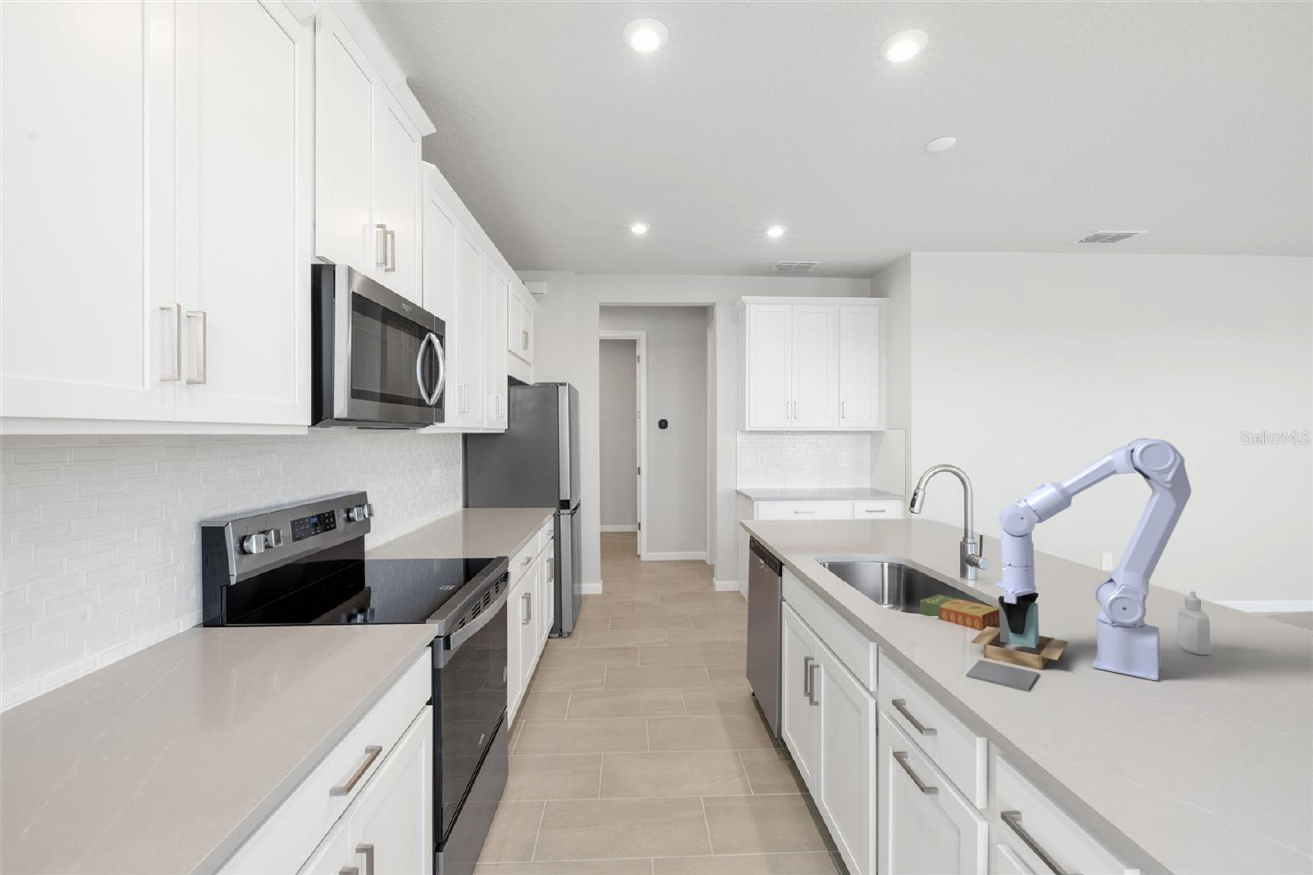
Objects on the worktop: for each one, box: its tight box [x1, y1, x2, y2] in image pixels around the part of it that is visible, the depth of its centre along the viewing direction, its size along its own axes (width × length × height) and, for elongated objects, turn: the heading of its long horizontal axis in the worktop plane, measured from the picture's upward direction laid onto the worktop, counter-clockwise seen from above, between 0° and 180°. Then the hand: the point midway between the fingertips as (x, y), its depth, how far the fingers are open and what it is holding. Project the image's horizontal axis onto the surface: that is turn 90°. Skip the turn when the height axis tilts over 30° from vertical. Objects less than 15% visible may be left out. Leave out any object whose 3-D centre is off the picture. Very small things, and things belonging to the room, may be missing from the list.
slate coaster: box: [965, 659, 1040, 692], centre depth 109 cm, size 10×9×1 cm
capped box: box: [998, 602, 1040, 649], centre depth 119 cm, size 6×4×8 cm
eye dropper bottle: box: [1177, 591, 1211, 656], centre depth 118 cm, size 4×6×12 cm
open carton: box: [970, 626, 1069, 671], centre depth 119 cm, size 15×13×2 cm
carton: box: [919, 594, 1000, 632], centre depth 142 cm, size 8×16×4 cm, turn 31°
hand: (1019, 630), depth 119 cm, fingers closed on capped box, 4 cm apart
